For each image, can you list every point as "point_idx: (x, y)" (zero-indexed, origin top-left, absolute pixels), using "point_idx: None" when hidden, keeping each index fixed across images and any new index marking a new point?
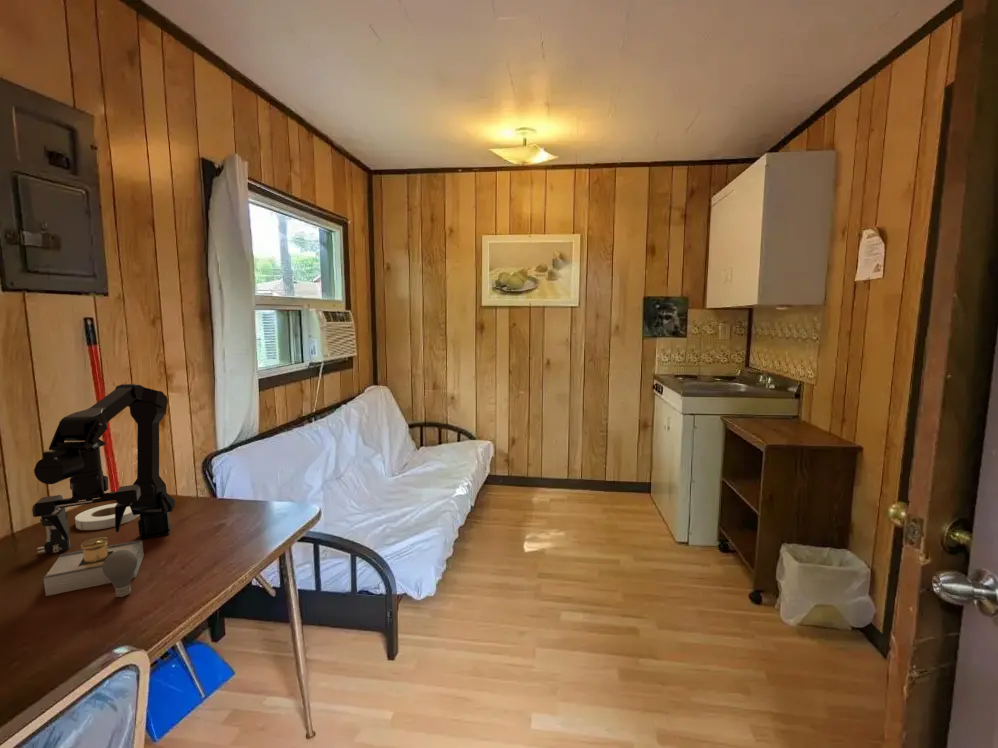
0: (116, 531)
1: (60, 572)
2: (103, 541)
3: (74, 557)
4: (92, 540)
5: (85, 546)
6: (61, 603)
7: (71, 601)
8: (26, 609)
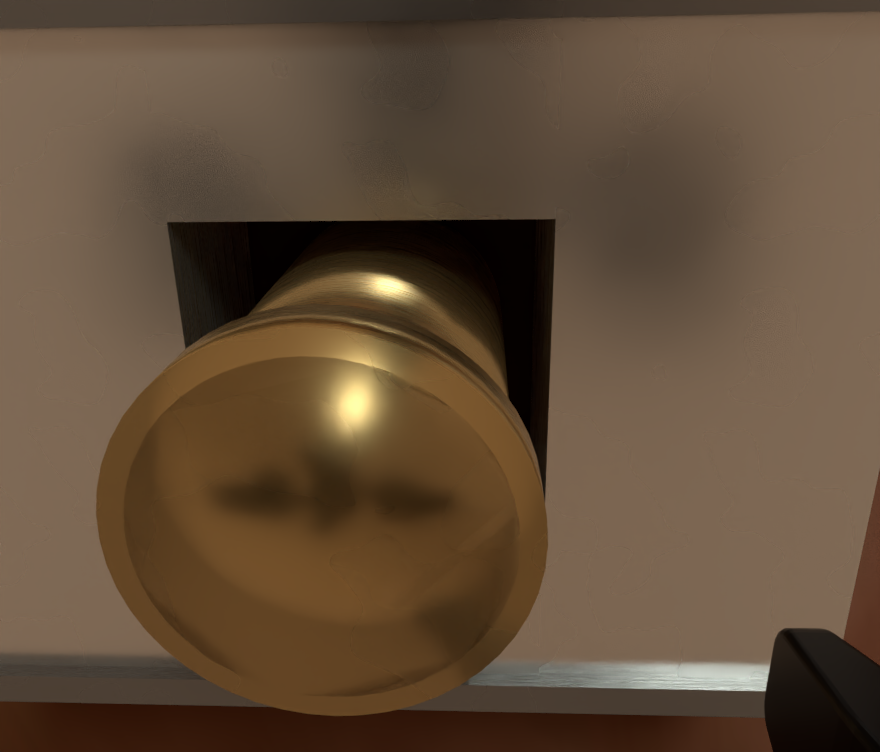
0: (777, 744)
1: (76, 621)
2: (484, 600)
3: (32, 201)
4: (254, 447)
5: (228, 682)
6: (252, 736)
7: (317, 739)
8: (27, 710)
